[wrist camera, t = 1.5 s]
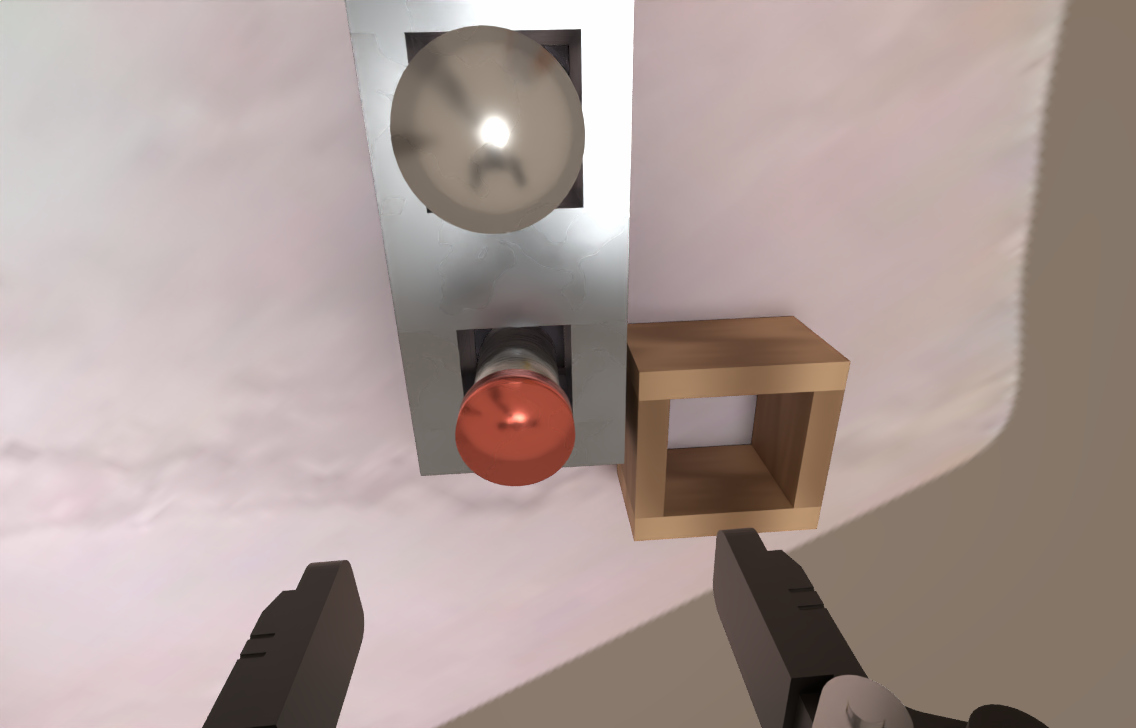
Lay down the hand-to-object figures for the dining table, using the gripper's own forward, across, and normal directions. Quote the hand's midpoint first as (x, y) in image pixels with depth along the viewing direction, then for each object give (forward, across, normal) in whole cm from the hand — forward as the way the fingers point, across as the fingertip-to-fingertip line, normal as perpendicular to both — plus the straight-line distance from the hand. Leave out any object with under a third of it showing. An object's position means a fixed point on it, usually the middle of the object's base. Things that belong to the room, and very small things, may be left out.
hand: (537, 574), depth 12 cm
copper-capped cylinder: (+11, 0, 0) cm, 11 cm away
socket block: (+14, 0, -4) cm, 15 cm away
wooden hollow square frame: (+14, -8, +4) cm, 17 cm away
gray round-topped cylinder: (+14, 0, -9) cm, 17 cm away
